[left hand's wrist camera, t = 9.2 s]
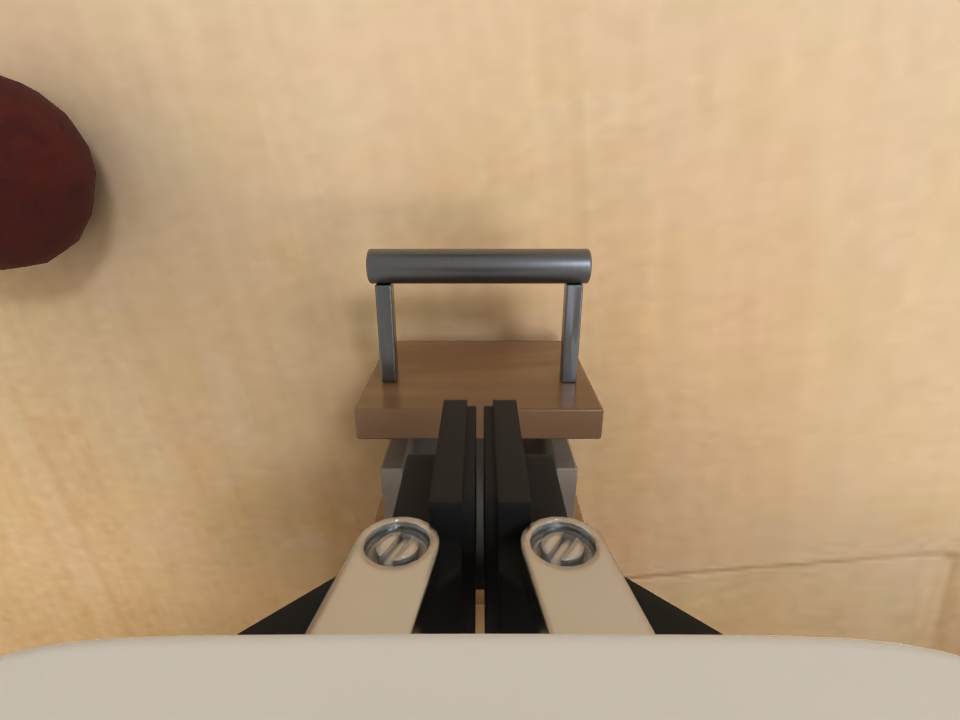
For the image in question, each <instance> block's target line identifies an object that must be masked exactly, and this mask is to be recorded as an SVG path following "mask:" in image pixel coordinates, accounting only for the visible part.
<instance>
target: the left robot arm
mask: <svg viewBox="0 0 960 720" xmlns="http://www.w3.org/2000/svg"><path fill="white" fill-rule="evenodd" d="M476 521H477V483H476V406H467V400H444V402H443V409H442V415H441V422H440V429H439V435H438V442H437V449H436V454H409V455H408V456H407V460H406V464H405V468H404V472H403V476H402V480H401V484H400V488H399V492H398V496H397V501H396V505H395V509H394V513H393V517H392V518H388V519H384V520H381V521H379V522H376V523H374V524H372V525H371V526H369V527H368V528H366V529H365V530H364V531H363V532H362V533H361V534H360V536H359V537H358V538H357V540H356V541H355V543H354V545H353V547H352V549H351V550H350V552H349V554H348V556H347V558H346V560H345V561H344V563H343V565H342V567H341V569H340V571H339V572H338V574H337V576H336V577H334V578H333V579H331V580H329V581H328V582H326V583H324V584H322V585H321V586H319V587H317V588H316V589H314V590H312V591H311V592H309V593H307V594H305V595H304V596H302V597H300V598H299V599H297V600H295V601H293V602H292V603H290V604H288V605H287V606H285V607H283V608H282V609H280V610H278V611H276V612H275V613H273V614H271V615H270V616H268V617H266V618H264V619H263V620H261V621H259V622H258V623H256V624H254V625H253V626H251V627H249V628H247V629H246V630H244V631H242V632H241V633H239V634H237V635H172V636H145V637H118V638H99V639H90V640H81V641H72V642H62V643H56V644H51V645H46V646H40V647H35V648H30V649H24V650H19V651H15V652H11V653H8V654H4V655H1V656H0V720H960V656H959V655H956V654H952V653H949V652H945V651H941V650H936V649H930V648H925V647H920V646H914V645H909V644H904V643H898V642H888V641H879V640H870V639H861V638H842V637H815V636H788V635H723V634H721V633H719V632H718V631H716V630H714V629H713V628H711V627H709V626H707V625H706V624H704V623H702V622H701V621H699V620H697V619H696V618H694V617H692V616H690V615H689V614H687V613H685V612H684V611H682V610H680V609H678V608H677V607H675V606H673V605H672V604H670V603H668V602H667V601H665V600H663V599H661V598H660V597H658V596H656V595H655V594H653V593H651V592H649V591H648V590H646V589H644V588H643V587H641V586H639V585H638V584H636V583H634V582H632V581H631V580H629V579H627V578H626V577H624V576H623V574H622V572H621V571H620V569H619V567H618V565H617V563H616V561H615V560H614V558H613V556H612V554H611V552H610V550H609V549H608V547H607V545H606V543H605V541H604V540H603V538H602V537H601V536H600V534H599V533H598V532H597V531H596V530H595V529H594V528H592V527H591V526H589V525H588V524H586V523H584V522H581V521H579V520H576V519H572V518H568V517H567V513H566V509H565V505H564V501H563V496H562V492H561V488H560V484H559V480H558V476H557V472H556V468H555V464H554V460H553V456H552V455H551V454H524V449H523V442H522V435H521V429H520V422H519V415H518V409H517V402H516V400H493V406H484V483H483V521H484V625H485V634H475V625H476Z"/></svg>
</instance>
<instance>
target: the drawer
mask: <svg viewBox="0 0 960 720" xmlns="http://www.w3.org/2000/svg"><path fill="white" fill-rule="evenodd" d="M591 268H592V259H591V253H590V250H588V249H370V250H368V253H367V258H366V270H367V277H368V280H369V282H370V283H377V284H376V285H375V293H376V307H377V321H378V335H379V349H380V360H379V362H378V364H377V366H376V368H375V370H374V372H373V374H372V376H371V378H370V380H369V382H368V384H367V386H366V388H365V390H364V392H363V394H362V396H361V398H360V400H359V402H358V404H357V406H356V408H355V422H356V432H357V438H359V439H390V441H389V444H388V447H387V450H386V453H385V456H384V460H383V463H382V466H381V482H382V495H383V508H384V519H388V518H392V517H393V513H394V509H395V505H396V501H397V496H398V492H399V488H400V484H401V480H402V476H403V472H404V468H405V464H406V460H407V456H408V455H409V454H436V449H437V442H438V435H439V429H440V422H441V415H442V409H443V402H444V400H467V406H476V483H477V521H476V590H484V521H483V483H484V406H493V400H516V402H517V409H518V415H519V422H520V429H521V435H522V442H523V449H524V454H551V455H552V456H553V460H554V464H555V468H556V472H557V476H558V480H559V484H560V488H561V492H562V496H563V501H564V505H565V509H566V513H567V517H568V518H572V519H574V508H575V495H576V481H577V466H576V463H575V460H574V457H573V454H572V451H571V447H570V444H569V441H568V439H599V438H601V433H602V422H603V408H602V406H601V404H600V402H599V400H598V398H597V396H596V394H595V392H594V390H593V388H592V386H591V384H590V382H589V380H588V378H587V376H586V374H585V372H584V370H583V368H582V365H581V363H580V361H579V359H578V351H579V337H580V322H581V308H582V293H583V285H582V284H581V283H588V282H589V280H590V276H591ZM393 283H565V286H564V303H563V321H562V338H561V341H397V338H396V321H395V304H394V287H393Z"/></svg>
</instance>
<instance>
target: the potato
mask: <svg viewBox="0 0 960 720" xmlns="http://www.w3.org/2000/svg"><path fill="white" fill-rule="evenodd" d="M95 177H96V172H95V169H94V165H93V162H92V158H91V154H90V151H89V147H88V145H87V144H86V142H85V141H84V139H83V138H82V136H81V135H80V133H79V132H78V130H77V129H76V127H75V126H74V124H73V123H72V121H71V120H70V119H69V118H68V116H67V115H66V114H65V113H64V112H63V111H61V110H60V109H59V108H58V107H56V106H55V105H54V104H53V103H51V102H50V101H49V100H47V99H46V98H45V97H44V96H42V95H41V94H40V93H39V92H37V91H35V90H33V89H31V88H29V87H27V86H25V85H24V84H22V83H19V82H16V81H14V80H11V79H8V78H6V77H3V76H0V270H5V269H12V268H20V267H26V266H32V265H37V264H42V263H47V262H49V261H50V260H52V259H53V258H55V257H56V256H58V255H59V254H61V253H62V252H64V251H65V250H67V249H68V248H69V247H71V246H72V245H73V244H75V243H76V242H77V241H79V239H80V237H81V235H82V233H83V230H84V228H85V226H86V224H87V222H88V220H89V218H90V216H91V214H92V208H93V199H94V188H95Z"/></svg>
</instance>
